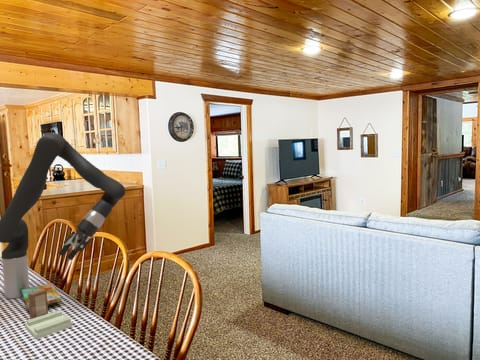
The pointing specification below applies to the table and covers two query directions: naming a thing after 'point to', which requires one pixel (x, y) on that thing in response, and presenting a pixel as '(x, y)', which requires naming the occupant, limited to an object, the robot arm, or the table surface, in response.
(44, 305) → the wooden block
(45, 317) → the plinth
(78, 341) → the table surface
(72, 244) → the robot arm
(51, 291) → the puzzle game
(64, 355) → the table surface
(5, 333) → the table surface
